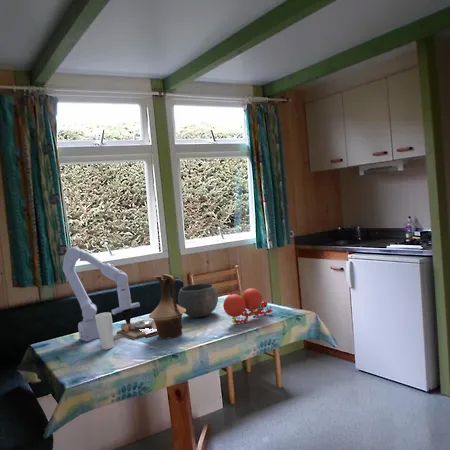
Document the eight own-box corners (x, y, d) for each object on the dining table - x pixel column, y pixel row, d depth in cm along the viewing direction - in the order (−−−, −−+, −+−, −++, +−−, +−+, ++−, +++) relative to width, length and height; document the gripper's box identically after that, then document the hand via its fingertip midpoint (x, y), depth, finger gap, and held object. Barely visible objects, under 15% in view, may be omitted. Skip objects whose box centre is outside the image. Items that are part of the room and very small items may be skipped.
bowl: (205, 322, 221) (201, 292, 220) (172, 320, 232) (168, 291, 231) (227, 310, 238) (223, 282, 237) (195, 309, 249) (191, 282, 248)
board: (135, 339, 208) (134, 334, 208) (116, 333, 220) (116, 329, 220) (171, 326, 221) (170, 322, 221) (152, 321, 234) (151, 317, 234)
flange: (154, 322, 225) (153, 317, 225) (151, 328, 216) (150, 323, 216) (124, 326, 225) (123, 321, 225) (120, 331, 216) (119, 326, 216)
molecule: (241, 329, 203) (230, 296, 204) (226, 331, 211) (216, 299, 213) (279, 311, 219) (268, 280, 220) (264, 313, 227) (253, 284, 229)
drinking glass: (107, 351, 196) (102, 317, 194) (96, 350, 199) (91, 316, 198) (119, 345, 201) (114, 312, 200) (108, 344, 205) (103, 311, 204)
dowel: (126, 333, 215) (125, 326, 215) (124, 332, 216) (123, 326, 216) (129, 332, 216) (128, 325, 216) (127, 331, 218) (126, 325, 217)
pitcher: (197, 331, 208) (189, 270, 206) (168, 343, 196) (160, 279, 194) (172, 327, 220) (164, 269, 218) (143, 338, 208) (135, 277, 206)
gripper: (132, 293, 230) (136, 319, 231) (106, 300, 220) (110, 328, 221) (140, 294, 224) (144, 321, 225) (114, 301, 215) (118, 330, 216)
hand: (128, 324), depth 223 cm, fingers closed, pressing on flange
